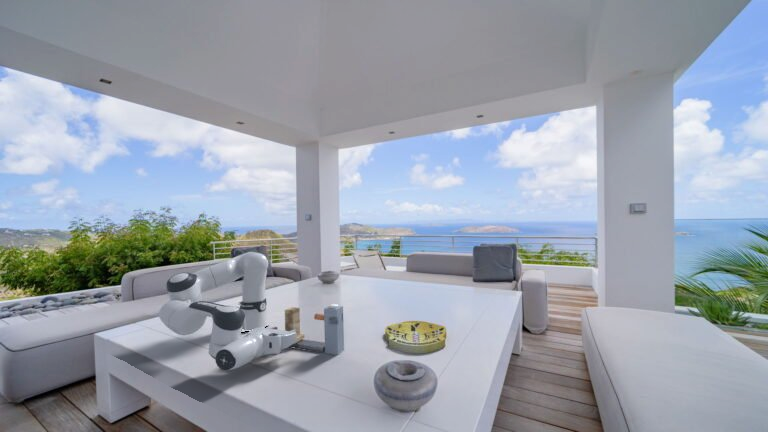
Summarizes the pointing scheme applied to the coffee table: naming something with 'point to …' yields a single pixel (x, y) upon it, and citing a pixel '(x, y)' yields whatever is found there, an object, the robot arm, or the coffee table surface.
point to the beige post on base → (293, 321)
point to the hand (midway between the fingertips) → (285, 329)
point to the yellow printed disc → (416, 336)
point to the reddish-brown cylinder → (319, 316)
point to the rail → (310, 345)
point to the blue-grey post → (334, 329)
